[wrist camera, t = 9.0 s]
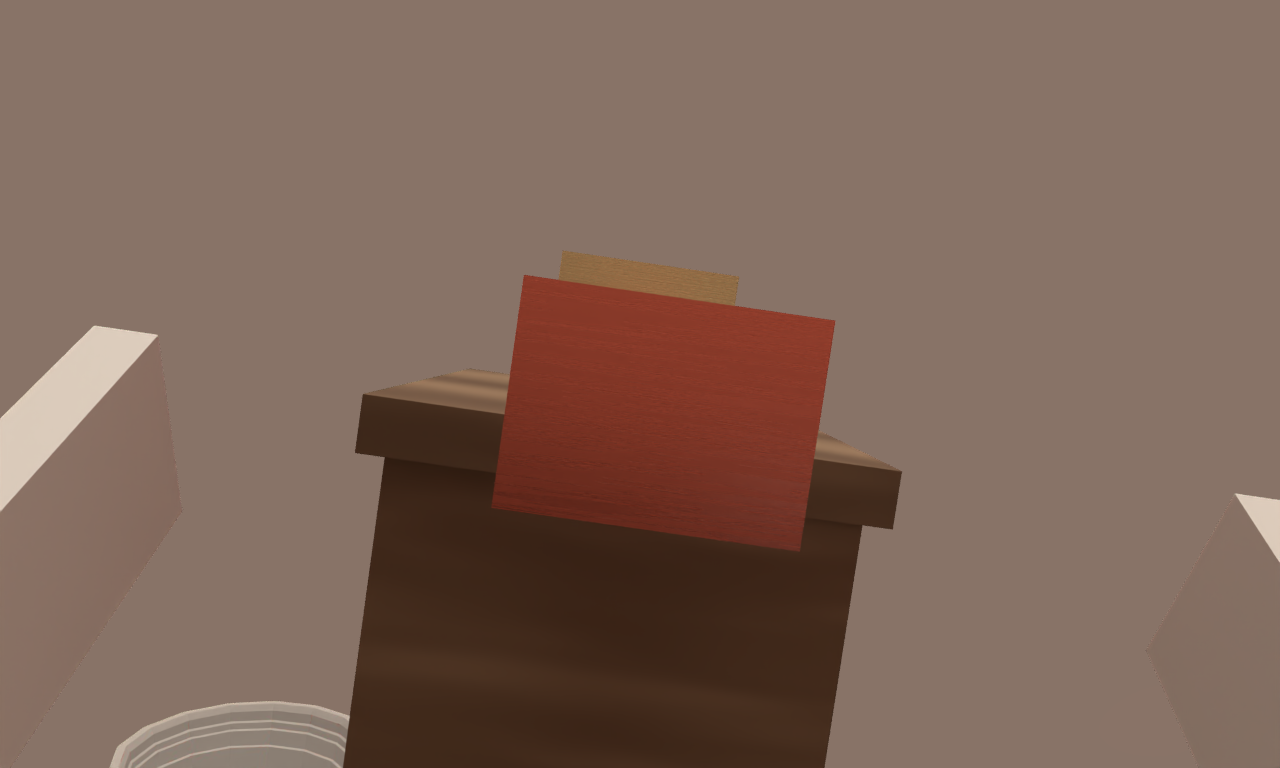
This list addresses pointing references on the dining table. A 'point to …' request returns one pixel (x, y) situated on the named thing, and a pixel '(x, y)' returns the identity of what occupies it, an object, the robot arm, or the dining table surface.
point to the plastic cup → (240, 738)
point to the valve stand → (588, 613)
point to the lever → (661, 404)
